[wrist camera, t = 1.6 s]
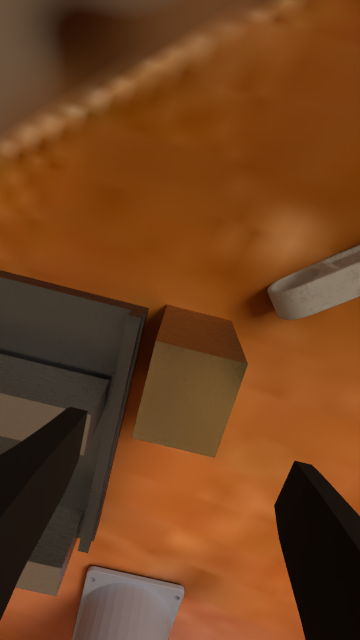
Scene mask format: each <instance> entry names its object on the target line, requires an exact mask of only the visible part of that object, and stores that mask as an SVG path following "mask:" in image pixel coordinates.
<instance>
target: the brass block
mask: <svg viewBox="0 0 360 640" xmlns="http://www.w3.org/2000/svg"><path fill="white" fill-rule="evenodd" d="M247 365H248V363H247V360H246V358H245V355H244V352H243V350H242V347H241V344H240V342H239V339H238V337H237V334H236V331H235V329H234V326H233V323H232V321H230V320H226V319H222V318H218V317H214V316H210V315H207V314H203V313H199V312H195V311H191V310H187V309H183V308H179V307H175V306H171V305H168V304H167V306H166V309H165V313H164V316H163V319H162V322H161V325H160V329H159V332H158V335H157V338H156V342H155V346H154V350H153V354H152V358H151V362H150V366H149V370H148V374H147V378H146V382H145V386H144V390H143V394H142V398H141V402H140V406H139V410H138V414H137V418H136V422H135V427H134V431H133V435H132V438H135V439H139V440H143V441H147V442H151V443H155V444H160V445H164V446H168V447H172V448H176V449H181V450H185V451H189V452H193V453H197V454H201V455H206V456H210V457H214V458H215V456H216V453H217V450H218V447H219V444H220V441H221V439H222V436H223V433H224V430H225V427H226V424H227V422H228V419H229V416H230V413H231V410H232V407H233V405H234V402H235V399H236V396H237V393H238V391H239V388H240V385H241V382H242V379H243V376H244V374H245V371H246V368H247Z"/></svg>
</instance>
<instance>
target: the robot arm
mask: <svg viewBox="0 0 360 640" xmlns="http://www.w3.org/2000/svg"><path fill="white" fill-rule="evenodd" d="M87 413H88V411H86V410H82V409H78V408H74V407H69V408H67V409H65V410H64V411H63V412H61V413H60V414H59V415H57V416H56V417H55V418H54V419H52V420H51V421H50V422H48V423H47V424H45V425H44V426H43V427H41V428H40V429H39V430H37V431H36V432H34V433H33V434H31V435H30V436H28V437H27V438H26V439H24V440H23V441H21V442H20V443H18V444H17V445H15V446H14V447H12V448H10V449H9V450H7V451H6V452H4V453H2V454H1V455H0V620H1V618H2V616H3V613H4V611H5V609H6V607H7V604H8V602H9V600H10V598H11V595H12V593H13V591H14V589H15V586H16V584H17V582H18V580H19V578H20V576H21V574H22V572H23V570H24V568H25V566H26V564H27V562H28V560H29V558H30V556H31V554H32V552H33V551H34V549H35V547H36V545H37V543H38V541H39V539H40V538H41V536H42V534H43V532H44V530H45V528H46V527H47V525H48V523H49V521H50V519H51V517H52V515H53V514H54V512H55V510H56V508H57V506H58V504H59V502H60V501H61V499H62V497H63V495H64V493H65V491H66V489H67V487H68V485H69V482H70V480H71V477H72V475H73V473H74V470H75V468H76V465H77V463H78V460H79V456H80V450H81V445H82V440H83V435H84V429H85V424H86V419H87ZM274 506H275V514H276V522H277V528H278V535H279V540H280V544H281V548H282V552H283V556H284V559H285V563H286V567H287V571H288V574H289V578H290V582H291V585H292V589H293V593H294V597H295V600H296V604H297V608H298V611H299V615H300V619H301V622H302V627H303V631H304V635H305V639H306V640H360V516H359V515H358V514H357V513H356V512H355V511H354V509H353V508H352V507H351V506H350V505H349V504H348V503H347V502H346V501H345V500H344V498H343V497H342V496H341V495H340V494H339V493H338V492H337V491H336V490H335V489H334V487H333V486H332V485H331V484H330V483H329V482H328V481H327V480H326V479H325V478H324V477H323V476H322V475H321V473H320V472H319V471H318V470H317V469H316V468H315V467H314V466H312V465H310V464H306V463H302V462H298V461H294V463H293V465H292V468H291V470H290V472H289V474H288V477H287V479H286V481H285V483H284V485H283V488H282V490H281V492H280V494H279V496H278V499H277V501H276V503H275V505H274ZM183 596H184V587H182V586H181V585H177V584H173V583H168V582H164V581H159V580H155V579H150V578H146V577H141V576H137V575H132V574H128V573H123V572H119V571H115V570H110V569H106V568H101V567H97V566H91V567H89V569H88V571H87V575H86V579H85V584H84V588H83V592H82V597H81V601H80V605H79V610H78V614H77V618H76V623H75V627H74V631H73V636H72V640H169V633H170V631H171V628H172V625H173V623H174V620H175V617H176V615H177V612H178V609H179V607H180V604H181V602H182V599H183Z"/></svg>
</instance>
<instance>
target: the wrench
mask: <svg viewBox="0 0 360 640" xmlns="http://www.w3.org/2000/svg"><path fill="white" fill-rule="evenodd" d="M267 292H268V294H269V297H270V299H271V301H272V304H273V306H274V308H275V311H276V313H277V315H278V317H279V318H281V319H286V320H294V319H299V318H304V317H307V316H310V315H313V314H315V313H318V312H320V311H323V310H326V309H328V308H331V307H333V306H336V305H339V304H341V303H344V302H346V301H349V300H352V299H354V298H357V297H360V245H357V246H355V247H353V248H350V249H348V250H346V251H343V252H341V253H338V254H336V255H334V256H331V257H329V258H326V259H324V260H322V261H319V262H317V263H315V264H312V265H310V266H308V267H305V268H303V269H301V270H299V271H297V272H295V273H292V274H291V275H289V276H286V277H284V278H282V279H279V280H277V281H275V282H274V283H272V284H271V285H270V286H269V288H268V291H267Z"/></svg>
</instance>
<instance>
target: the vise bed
mask: <svg viewBox="0 0 360 640" xmlns="http://www.w3.org/2000/svg"><path fill="white" fill-rule="evenodd" d="M148 310H149V308H146V307H142V306H138V305H134V304H130V303H126V302H122V301H118V300H114V299H111V298H107V297H103V296H99V295H95V294H91V293H87V292H83V291H79V290H75V289H71V288H67V287H63V286H59V285H56V284H52V283H48V282H44V281H40V280H36V279H32V278H28V277H24V276H20V275H16V274H12V273H8V272H5V271H1V270H0V354H3V355H8V356H12V357H16V358H20V359H24V360H28V361H32V362H36V363H40V364H44V365H48V366H52V367H56V368H61V369H65V370H69V371H73V372H77V373H81V374H85V375H89V376H93V377H97V378H101V379H105V380H109V385H108V390H107V395H106V400H105V405H104V409H103V414H102V417H101V419H100V421H99V423H98V426H97V428H96V430H95V432H94V434H93V436H92V438H91V441H90V443H89V445H88V447H87V449H86V451H85V453H84V455H80V456H79V460H78V463H77V465H76V468H75V470H74V473H73V475H72V477H71V480H70V482H69V485H68V487H67V489H66V491H65V493H64V495H63V497H62V499H61V501H60V502H59V504H58V506H57V508H56V510H55V512H54V514H53V515H52V517H51V519H50V521H49V523H48V525H47V527H46V528H45V530H44V532H43V534H42V536H41V538H40V539H39V541H38V543H37V545H36V547H35V549H34V551H33V552H32V554H31V556H30V558H29V560H28V562H27V564H26V566H25V568H24V570H23V572H22V574H21V576H20V578H19V580H18V582H17V584H16V586H15V587H16V588H21V589H25V590H30V591H34V592H39V593H43V594H48V595H53V596H57V593H58V590H59V587H60V585H61V582H62V579H63V576H64V574H65V571H66V568H67V565H68V563H69V560H70V557H71V554H72V552H73V549H74V546H75V543H76V541H77V538H81V539H80V544H79V549H78V551H81V552H86V553H88V551H89V547H90V544H91V541H94V538H95V535H96V532H97V529H98V525H99V521H100V517H101V512H102V508H103V504H104V499H105V495H106V491H107V487H108V482H109V478H110V474H111V469H112V465H113V461H114V456H115V452H116V448H117V443H118V439H119V435H120V430H121V426H122V422H123V418H124V413H125V409H126V405H127V400H128V396H129V392H130V387H131V383H132V379H133V374H134V370H135V366H136V361H137V357H138V353H139V348H140V344H141V340H142V336H143V331H144V327H145V323H146V318H147V314H148ZM20 442H21V441H20V440H16V439H11V438H7V437H3V436H0V455H1V454H2V453H4V452H6V451H7V450H9V449H10V448H12V447H14V446H15V445H17V444H18V443H20Z"/></svg>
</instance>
